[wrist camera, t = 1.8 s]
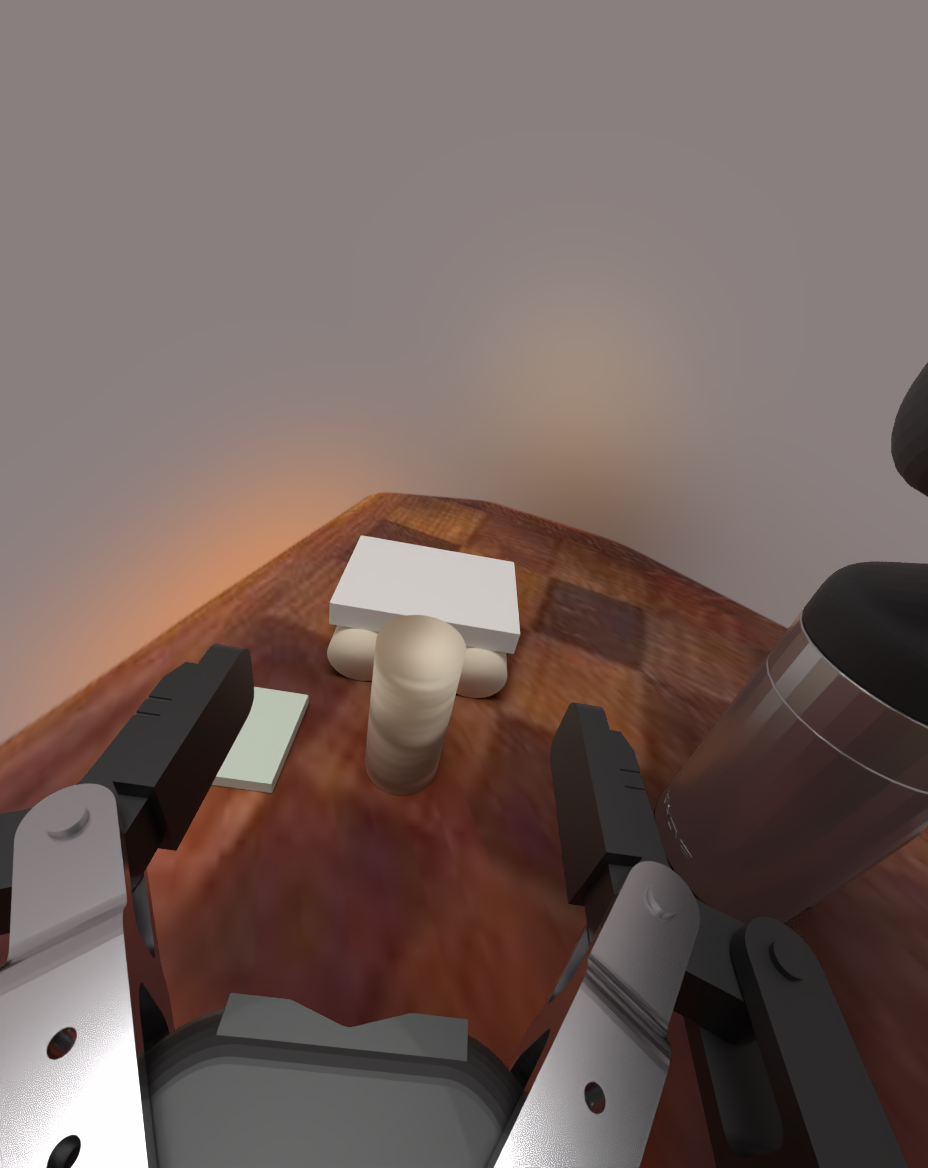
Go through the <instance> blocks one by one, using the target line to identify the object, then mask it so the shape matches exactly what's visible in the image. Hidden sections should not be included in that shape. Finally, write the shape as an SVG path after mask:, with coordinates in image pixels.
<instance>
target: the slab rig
mask: <svg viewBox="0 0 928 1168" xmlns="http://www.w3.org/2000/svg"><path fill="white" fill-rule="evenodd" d="M407 615H425V616H430V617H434V618H437V619H440V620H442V621H444V622H446V623H448V624H450V625H451V626H453V627H454V628H455V629H456V630H457V631H458V632H459V633H460V634H461V636H462V637H463V639H464V642H465V645H466V656H465V660H464V664H463V668H462V672H461V676H460V680H459V684H458V688H457V692H456V693H457V694H459V695H461V696H464V697H469V698H483V697H488V696H491V695H493V694H495V693H497V692H498V691H500V690H501V689H502V688H503V687H504V685H505V683H506V681H507V659H506V653H511V654H514V652H515V649H516V645H517V642H518V639H519V636H520V627H519V615H518V604H517V592H516V581H515V569H514V562H509V561H504V560H498V559H492V558H487V557H481V556H475V555H470V554H464V553H458V552H452V551H447V550H441V549H435V548H430V547H424V546H418V545H413V544H407V543H401V542H396V541H390V540H384V539H379V538H373V537H367V536H362V535H361V537H360V539H359V541H358V543H357V545H356V548H355V550H354V552H353V554H352V556H351V558H350V560H349V563H348V565H347V567H346V569H345V571H344V573H343V575H342V577H341V580H340V582H339V584H338V586H337V588H336V590H335V592H334V595H333V597H332V599H331V601H330V615H329V624H333V625H337V627H336V630H335V632H334V635H333V637H332V639H331V642H330V644H329V647H328V650H327V656H328V660H329V662H330V664H331V665H332V666H333V668H334V669H335V670H336V671H338V672H339V673H340V674H342V675H344V676H346V677H348V678H351V679H354V680H360V681H371V680H372V678H373V667H374V656H375V646H376V638H377V635H378V633H379V631H380V629H381V628H382V627H383V626H384V625H385V624H387V623H388V622H390V621H391V620H393V619H396V618H399V617H402V616H407Z"/></svg>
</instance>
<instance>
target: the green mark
mask: <svg viewBox="0 0 928 1168" xmlns="http://www.w3.org/2000/svg"><path fill="white" fill-rule="evenodd" d="M308 704H309V702H308V695H304V694H298V693H291V692H285V691H278V690H272V689H265V688H258V687H254V700H253V705H252V708H251V711H250V713H249V716H248V718H247V720H246V721H245V723H244V725H243V727H242V729H241V731H240V733H239V735H238V736H237V738H236V740H235V742H234V744H233V746H232V748H231V749H230V751H229V753H228V755H227V757H226V759H225V761H224V763H223V764H222V766H221V768H220V770H219V772H218V774H217V776H216V777H215V779H214V781H213V783H212V785H216V786H224V787H231V788H238V789H245V790H253V791H260V792H267V793H273V790H274V788H275V785H276V783H277V780H278V778H279V775H280V773H281V770H282V768H283V766H284V763H285V761H286V758H287V756H288V753H289V751H290V748H291V746H292V743H293V741H294V739H295V736H296V734H297V731H298V729H299V726H300V724H301V721H302V719H303V716H304V714H305V712H306V709H307V707H308Z"/></svg>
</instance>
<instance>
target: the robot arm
mask: <svg viewBox="0 0 928 1168" xmlns="http://www.w3.org/2000/svg"><path fill="white" fill-rule="evenodd" d="M891 453H892V457H893V460H894V463H895V467H896V469H897V471H898V472H899V473H900V475H901V476H902V477H903V478H904V479H905V481H906V482H907V483H908V484H909V485H910V486H911V487H913V488H914V489H916V490H918V491H920V492H921V493H923V494H924V495H926V496H928V363H927V364H926V365H925V367H924V368H923V369H922V371H921V372H920V374H919V375H918V377H917V378H916V380H915V381H914V382H913V384H912V385H911V387H910V389H909V391H908V392H907V394H906V396H905V398H904V400H903V402H902V404H901V406H900V408H899V411H898V413H897V416H896V419H895V423H894V427H893V431H892V438H891ZM253 700H254V683H253V674H252V665H251V656H250V652H249V650H248V649H245V648H238V647H232V646H226V645H220V644H214V645H212V646H211V647H210V648H209V649H208V651H207V652H206V654H205V655H204V656H203V658H202V659H201V660H200V662H199V663H198V664H195V663H189V662H185V663H184V664H182V665H181V666H179V667H178V668H176V669H175V670H173V671H172V672H170V673H169V674H167V675H166V676H164V677H163V679H162V680H161V681H160V682H159V684H158V685H157V686H156V687H155V689H154V690H153V691H152V692H151V694H150V695H149V698H148V700H147V699H146V700H145V701H144V702H143V704H142V705H141V706H140V707H139V709H138V710H137V713H136V715H133V716H132V718H131V719H130V720H129V721H128V723H127V724H126V725H125V726H124V728H123V729H122V730H121V731H120V733H119V734H118V735H117V736H116V738H115V739H114V740H113V741H112V743H111V744H110V745H109V746H108V748H107V749H106V750H105V752H104V753H103V754H102V755H101V757H100V758H99V759H98V760H97V762H96V763H95V764H94V765H93V767H92V768H91V769H90V770H89V772H88V773H87V774H86V775H85V776H84V777H83V779H82V780H81V781H80V782H78V783H77V784H76V785H74V786H70V787H67V788H64V789H62V790H59V791H57V792H55V793H53V794H51V795H49V796H48V797H46V798H45V799H43V800H42V801H40V802H39V803H38V804H37V805H35V806H34V807H33V808H31V809H27V810H22V811H16V812H10V813H3V814H0V935H2V934H7V933H10V944H9V955H8V959H7V962H6V964H5V965H4V966H3V967H1V968H0V1168H639V1167H640V1163H641V1160H642V1157H643V1153H644V1150H645V1146H646V1143H647V1140H648V1136H649V1133H650V1130H651V1126H652V1123H653V1120H654V1116H655V1113H656V1110H657V1106H658V1103H659V1099H660V1096H661V1093H662V1089H663V1086H664V1083H665V1079H666V1076H667V1072H668V1069H669V1064H670V1058H671V1045H670V1043H669V1042H668V1041H667V1037H666V1036H667V1028H668V1025H669V1021H670V1018H671V1015H672V1012H673V1011H675V1012H677V1013H679V1014H680V1015H682V1016H684V1021H685V1025H686V1030H687V1035H688V1039H689V1044H690V1048H691V1053H692V1057H693V1062H694V1066H695V1071H696V1076H697V1080H698V1085H699V1089H700V1094H701V1098H702V1103H703V1108H704V1112H705V1117H706V1121H707V1126H708V1130H709V1135H710V1140H711V1144H712V1149H713V1153H714V1158H715V1162H716V1167H717V1168H909V1167H908V1164H907V1162H906V1160H905V1157H904V1155H903V1153H902V1151H901V1148H900V1146H899V1144H898V1141H897V1139H896V1137H895V1134H894V1132H893V1130H892V1128H891V1125H890V1123H889V1121H888V1118H887V1116H886V1114H885V1111H884V1109H883V1107H882V1105H881V1102H880V1100H879V1098H878V1095H877V1093H876V1091H875V1088H874V1086H873V1084H872V1082H871V1079H870V1077H869V1075H868V1072H867V1070H866V1068H865V1065H864V1063H863V1061H862V1059H861V1056H860V1054H859V1052H858V1049H857V1047H856V1045H855V1042H854V1040H853V1038H852V1036H851V1033H850V1031H849V1029H848V1026H847V1024H846V1022H845V1019H844V1017H843V1015H842V1012H841V1010H840V1008H839V1006H838V1003H837V1001H836V999H835V996H834V994H833V992H832V989H831V987H830V985H829V983H828V980H827V978H826V976H825V973H824V971H823V969H822V967H821V965H820V963H819V961H818V959H817V957H816V956H815V954H814V953H813V951H812V950H811V949H810V947H809V946H808V945H807V943H806V942H805V941H804V940H803V939H802V938H801V937H800V936H799V935H798V934H797V933H796V932H795V931H793V930H792V929H791V928H790V927H788V926H787V925H785V924H783V923H785V922H787V921H788V920H790V919H791V918H793V917H794V916H796V915H797V914H799V913H800V912H801V911H803V910H804V909H806V908H807V907H811V908H812V907H814V906H816V905H817V904H819V903H820V902H822V901H823V900H825V899H826V898H828V897H829V896H831V895H832V894H834V893H835V892H836V891H838V890H839V889H841V888H842V887H844V886H845V885H847V884H848V883H850V882H851V881H853V880H854V879H856V878H857V877H859V876H860V875H862V874H863V873H865V872H866V871H868V870H869V869H871V868H872V867H874V866H875V865H877V864H878V863H880V862H881V861H883V860H884V859H886V858H887V857H888V856H890V855H891V854H893V853H894V852H896V851H897V850H899V849H900V848H902V847H903V846H905V845H906V844H908V843H909V842H911V841H912V840H914V839H915V838H917V837H918V836H920V835H921V834H922V832H923V829H925V828H926V827H928V564H919V563H901V562H864V563H856V564H852V565H848V566H846V567H844V568H841V569H839V570H837V571H836V572H835V573H833V574H832V575H831V576H830V577H829V578H828V579H827V580H826V581H825V582H824V583H823V584H822V585H821V587H820V588H819V589H818V590H817V592H816V593H815V594H814V596H813V597H812V598H811V600H810V601H809V602H808V603H807V605H806V606H805V607H804V609H803V610H802V611H801V613H800V614H799V615H798V616H797V618H796V619H795V620H794V622H793V623H792V624H791V626H790V627H789V628H788V629H787V631H786V632H785V633H784V635H783V636H782V637H781V639H780V640H779V641H778V643H777V644H776V645H775V646H774V648H773V649H772V650H771V652H770V654H769V655H768V656H767V657H766V659H765V660H764V661H763V663H762V664H761V665H760V666H759V668H758V669H757V670H756V672H755V673H754V674H753V676H752V677H751V678H750V679H749V681H748V682H747V683H746V685H745V686H744V687H743V689H742V690H741V691H740V693H739V694H738V695H737V696H736V698H735V699H734V700H733V702H732V703H731V704H730V706H729V707H728V708H727V709H726V711H725V712H724V713H723V715H722V716H721V717H720V719H719V720H718V721H717V723H716V724H715V725H714V726H713V728H712V729H711V730H710V732H709V733H708V734H707V736H706V737H705V738H704V739H703V741H702V742H701V743H700V745H699V746H698V747H697V749H696V750H695V751H694V753H693V754H692V755H691V756H690V758H689V759H688V760H687V762H686V763H685V764H684V765H683V767H682V768H681V769H680V771H679V772H678V773H677V775H676V776H675V777H674V779H673V780H672V781H671V783H670V784H669V785H668V786H667V788H666V789H665V790H664V792H663V793H662V795H661V796H660V798H659V799H658V802H657V805H656V809H655V819H654V816H653V812H652V809H651V806H650V802H649V799H648V796H647V793H645V786H644V783H643V779H642V776H640V769H639V766H638V763H637V759H636V756H635V753H634V750H633V749H632V748H631V746H630V745H629V743H628V742H627V740H626V739H625V738H624V736H623V735H622V733H621V732H618V731H612V730H609V726H608V722H607V718H606V715H605V712H604V710H603V708H602V707H598V706H591V705H585V704H579V703H571V704H570V705H569V707H568V709H567V711H566V713H565V715H564V717H563V719H562V722H561V724H560V726H559V728H558V730H557V732H556V734H555V737H554V739H553V742H552V747H551V758H550V759H551V770H552V778H553V786H554V794H555V802H556V810H557V817H558V825H559V833H560V841H561V849H562V857H563V865H564V873H565V881H566V889H567V897H568V904H573V905H580V906H585V911H586V918H587V923H586V925H585V926H584V928H583V930H582V932H581V934H580V936H579V937H578V939H577V941H576V943H575V945H574V947H573V949H572V951H571V953H570V955H569V957H568V959H567V961H566V963H565V964H564V966H563V968H562V970H561V972H560V974H559V976H558V978H557V980H556V982H555V984H554V986H553V988H552V989H551V991H550V993H549V995H548V997H547V999H546V1001H545V1003H544V1005H543V1006H542V1008H541V1010H540V1012H539V1013H538V1015H537V1016H536V1018H535V1019H534V1021H533V1022H532V1024H531V1025H530V1027H529V1029H528V1030H527V1032H526V1034H525V1035H524V1037H523V1039H522V1041H521V1043H520V1044H519V1046H518V1048H517V1050H516V1052H515V1054H514V1056H513V1058H512V1059H511V1061H510V1063H509V1065H508V1067H506V1066H505V1065H504V1063H503V1062H502V1061H501V1060H500V1059H499V1058H498V1057H497V1056H496V1055H495V1054H494V1053H493V1052H492V1051H491V1050H490V1049H489V1048H487V1047H486V1046H485V1045H483V1044H482V1043H481V1042H479V1041H478V1040H476V1039H475V1038H473V1037H471V1036H469V1035H468V1019H460V1018H451V1017H442V1016H433V1015H424V1014H415V1013H409V1014H405V1015H401V1016H397V1017H393V1018H388V1019H384V1020H380V1021H376V1022H372V1023H367V1024H363V1025H359V1026H355V1027H345V1026H342V1025H340V1024H338V1023H336V1022H334V1021H332V1020H330V1019H328V1018H326V1017H324V1016H322V1015H320V1014H318V1013H316V1012H314V1011H312V1010H310V1009H308V1008H306V1007H304V1006H302V1005H300V1004H298V1003H296V1002H294V1001H292V1000H290V999H281V998H273V997H264V996H255V995H246V994H237V993H230V996H229V999H228V1002H227V1005H226V1008H225V1009H221V1010H217V1011H214V1012H211V1013H208V1014H206V1015H203V1016H200V1017H198V1018H196V1019H194V1020H192V1021H190V1022H188V1023H186V1024H185V1025H183V1026H181V1027H179V1028H178V1029H176V1030H175V1029H174V1023H173V1016H172V1010H171V1004H170V999H169V994H168V989H167V985H166V981H165V978H164V974H163V971H162V967H161V962H160V956H159V949H158V943H157V936H156V929H155V922H154V915H153V908H152V902H151V895H150V888H149V881H148V874H147V869H146V868H147V866H148V864H149V863H150V861H151V859H152V857H153V856H154V854H155V852H156V850H157V849H158V848H161V849H168V850H177V848H178V846H179V845H180V843H181V841H182V839H183V837H184V835H185V833H186V832H187V830H188V828H189V826H190V824H191V822H192V820H193V819H194V817H195V815H196V813H197V811H198V809H199V807H200V805H201V804H202V802H203V800H204V798H205V796H206V794H207V792H208V791H209V789H210V787H211V785H212V783H213V781H214V779H215V777H216V776H217V774H218V772H219V770H220V768H221V766H222V764H223V763H224V761H225V759H226V757H227V755H228V753H229V751H230V749H231V748H232V746H233V744H234V742H235V740H236V738H237V736H238V735H239V733H240V731H241V729H242V727H243V725H244V723H245V721H246V720H247V718H248V716H249V713H250V711H251V708H252V705H253ZM666 857H667V858H666ZM667 859H668V861H669V862H670V864H671V866H672V868H673V869H674V870H675V872H676V873H675V872H674V871H673V870H671V868H670V866H669V864H668V861H667ZM691 891H692V892H693V893H694V894H695V895H696V896H697V897H698V898H699V899H701V900H702V901H703V902H704V903H703V902H701V901H700V900H698V899H697V898H696V897H694V895H693V893H692V892H691ZM705 903H706V904H707V905H706V904H705Z"/></svg>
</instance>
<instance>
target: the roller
mask: <svg viewBox="0 0 928 1168" xmlns="http://www.w3.org/2000/svg"><path fill="white" fill-rule="evenodd" d="M465 656H466V645H465V642H464V639H463V637H462V636H461V634H460V633H459V632H458V631H457V630H456V629H455V628H454V627H453V626H451V625H450V624H448V623H446V622H444V621H442V620H440V619H437V618H434V617H430V616H425V615H407V616H402V617H399V618H396V619H393V620H391V621H390V622H388V623H387V624H385V625H384V626H383V627H382V628H381V629H380V631H379V633H378V635H377V638H376V646H375V656H374V667H373V678H372V689H371V699H370V710H369V721H368V732H367V742H366V753H365V769H366V772H367V775H368V777H369V778H370V780H371V781H372V782H373V784H374V785H375V786H377V787H378V788H379V789H381V790H382V791H384V792H387V793H390V794H394V795H410V794H413V793H416V792H419V791H421V790H422V789H424V788H425V787H426V786H428V785H429V784H430V782H431V781H432V780H433V778H434V776H435V774H436V771H437V768H438V764H439V760H440V756H441V752H442V748H443V744H444V740H445V736H446V732H447V728H448V724H449V720H450V716H451V712H452V708H453V704H454V700H455V696H456V692H457V688H458V684H459V680H460V676H461V672H462V668H463V664H464V660H465Z"/></svg>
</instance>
